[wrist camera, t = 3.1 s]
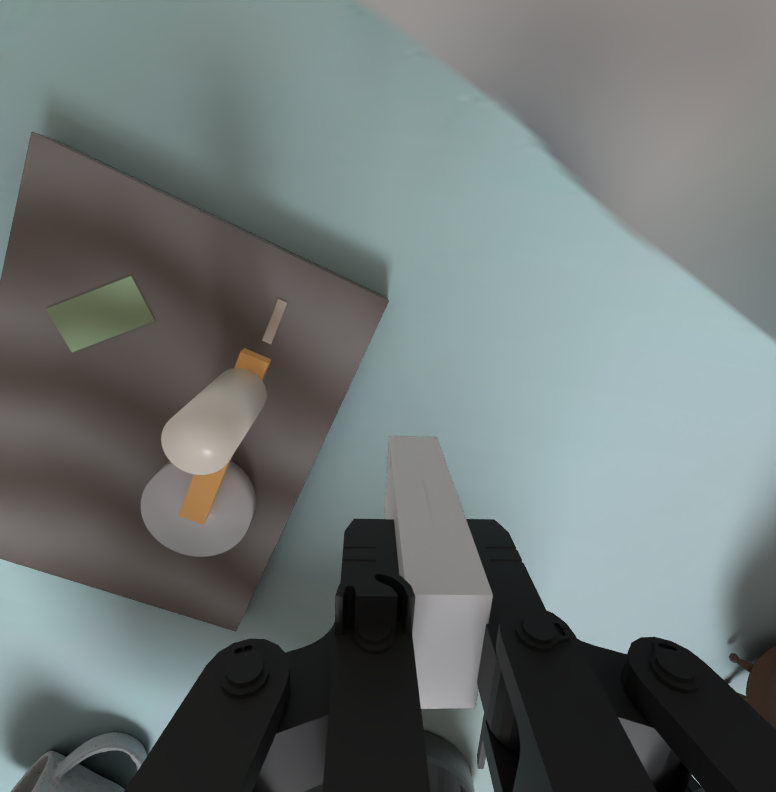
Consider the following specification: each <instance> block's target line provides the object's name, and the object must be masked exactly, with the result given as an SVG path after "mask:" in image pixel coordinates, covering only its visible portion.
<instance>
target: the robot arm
mask: <svg viewBox="0 0 776 792" xmlns="http://www.w3.org/2000/svg"><path fill="white" fill-rule="evenodd" d="M478 689H479V693H480V697H481V701H482V705H483V709H484V717H483V723H482V729H481V735H480V741H479V747H478V753H477V764H478V769H484V764H485V758H486V757H487V762H488V766H489V771H490V775H491V779H492V784H493V788H494V792H776V729H775V728H774V727H773V726H772V725H771V724H770V723H768V722H767V721H766V720H765V719H764V718H763V717H762V716H761V715H760V714H759V713H758V712H757V711H756V710H755V709H754V708H753V707H751V706H750V705H749V704H748V703H747V702H746V701H745V700H744V699H743V698H742V697H741V696H740V695H739V694H738V693H737V692H736V691H735V690H733V689H732V688H731V687H730V686H729V685H728V684H727V683H726V682H725V681H724V680H723V679H722V678H721V677H720V676H719V675H718V674H716V673H715V672H714V671H713V670H712V669H711V668H710V667H709V666H708V665H707V664H706V663H705V662H704V661H702V660H701V659H700V658H698V657H697V656H696V655H694V654H693V653H692V652H691V651H689V650H688V649H686V648H684V647H682V646H680V645H678V644H676V643H674V642H672V641H668V640H664V639H661V638H657V637H642V638H639V639H637V640H636V641H634V642H632V643H631V646H630V648H629V651H628V653H627V654H623V653H620V652H616V651H612V650H609V649H605V648H601V647H597V646H594V645H591V644H588V643H585V642H583V641H580V640H579V639H577V638H576V636H575V634H574V633H573V632H572V630H571V629H570V628H569V626H568V625H567V624H566V623H565V622H564V621H563V620H561V619H560V618H559V617H557V616H556V615H555V614H553V613H551V612H549V611H546V609H545V607H544V605H543V603H542V600H541V598H540V596H539V594H538V592H537V590H536V588H535V586H534V584H533V582H532V580H531V578H530V576H529V574H528V572H527V570H526V567H525V565H524V563H522V559H521V557H520V555H519V553H518V551H517V550H516V547H515V545H514V543H513V541H512V539H511V536H510V534H509V532H508V531H506V530H505V529H504V528H503V527H502V526H501V525H500V524H499V523H498V522H496V521H495V520H489V519H466V518H465V515H464V512H463V509H462V506H461V504H460V501H459V498H458V495H457V492H456V490H455V487H454V484H453V481H452V478H451V475H450V473H449V470H448V467H447V464H446V461H445V458H444V456H443V453H442V450H441V447H440V444H439V442H438V439H437V437H414V436H389V444H388V463H387V481H386V500H385V519H353V521H352V522H351V524H350V525H349V526H348V528H347V529H346V530H345V533H344V546H343V558H342V571H341V584H340V585H339V587H338V590H337V593H336V596H335V623H334V625H333V627H332V629H331V630H330V631H329V632H328V633H327V634H326V635H325V636H324V637H322V638H321V639H319V640H318V641H316V642H315V643H313V644H310V645H308V646H305V647H303V648H300V649H296V650H293V651H290V652H286V653H285V652H284V651H283V650H282V649H281V648H280V647H279V645H277V644H275V643H272V642H270V641H268V640H265V639H247V640H243V641H240V642H236V643H233V644H231V645H230V646H228V647H226V648H225V649H223V650H222V651H220V652H218V653H217V654H216V656H215V657H214V658H213V659H212V660H211V661H210V662H209V663H208V664H207V665H206V667H205V668H204V670H203V672H202V673H201V675H200V676H199V678H198V679H197V681H196V682H195V684H194V685H193V687H192V688H191V690H190V691H189V693H188V695H187V696H186V698H185V699H184V701H183V702H182V704H181V705H180V707H179V708H178V710H177V711H176V713H175V714H174V716H173V717H172V719H171V721H170V722H169V724H168V725H167V727H166V728H165V730H164V731H163V733H162V734H161V736H160V737H159V739H158V740H157V742H156V744H155V745H154V747H153V748H152V750H151V751H150V753H149V754H148V756H147V757H146V759H145V760H144V762H143V763H142V765H141V766H140V768H139V770H138V771H137V773H136V774H135V776H134V777H133V779H132V780H131V782H130V783H129V785H128V786H127V788H126V789H125V791H124V792H474V787H473V782H472V777H471V772H470V769H469V766H468V764H467V762H466V760H465V759H464V757H463V756H462V755H461V753H460V752H459V751H458V750H457V749H456V748H455V747H453V746H452V745H451V744H450V743H448V742H447V741H445V740H443V739H441V738H440V737H438V736H435V735H433V734H430V733H428V732H425V731H423V722H422V714H421V709H453V708H475V706H476V700H477V694H478ZM691 775H693V776H694V778H695V779H696V780H697V781H698V782H699V784H700V785H701V786H702V787H703V788H702V787H701V786H700V785H699V784H698V782H697V781H696V780H695V779H694V778H693V777H692V776H691Z"/></svg>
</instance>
